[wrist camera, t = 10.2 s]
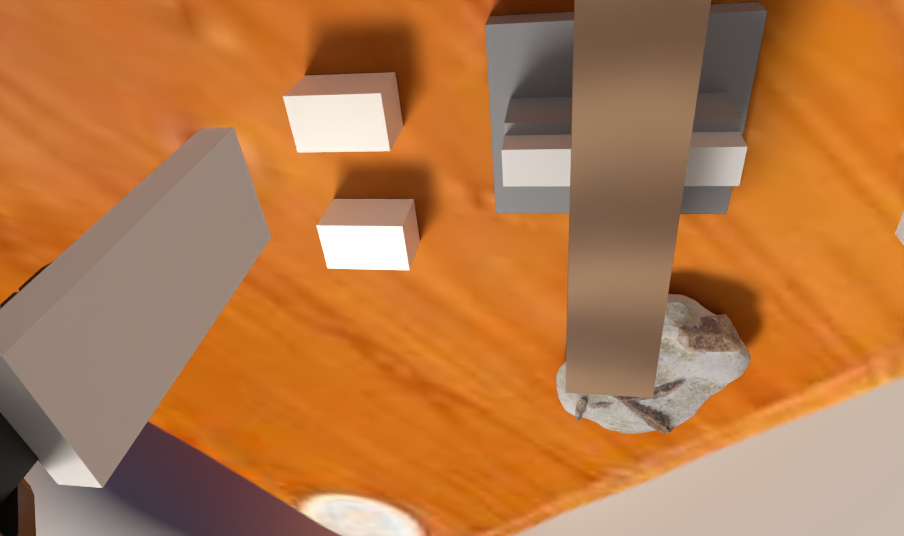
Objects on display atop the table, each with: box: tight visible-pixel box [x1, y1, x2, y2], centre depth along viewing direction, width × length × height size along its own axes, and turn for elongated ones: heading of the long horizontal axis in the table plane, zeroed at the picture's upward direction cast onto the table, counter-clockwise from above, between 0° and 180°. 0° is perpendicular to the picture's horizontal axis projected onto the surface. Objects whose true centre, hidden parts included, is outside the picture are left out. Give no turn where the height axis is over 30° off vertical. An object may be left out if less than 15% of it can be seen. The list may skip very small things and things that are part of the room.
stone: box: [556, 294, 751, 434], centre depth 39 cm, size 12×9×3 cm
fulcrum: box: [485, 2, 768, 214], centre depth 29 cm, size 10×12×6 cm
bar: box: [566, 0, 711, 398], centre depth 24 cm, size 20×4×4 cm, turn 5°
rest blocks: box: [283, 72, 420, 270], centre depth 34 cm, size 10×5×3 cm, turn 5°
